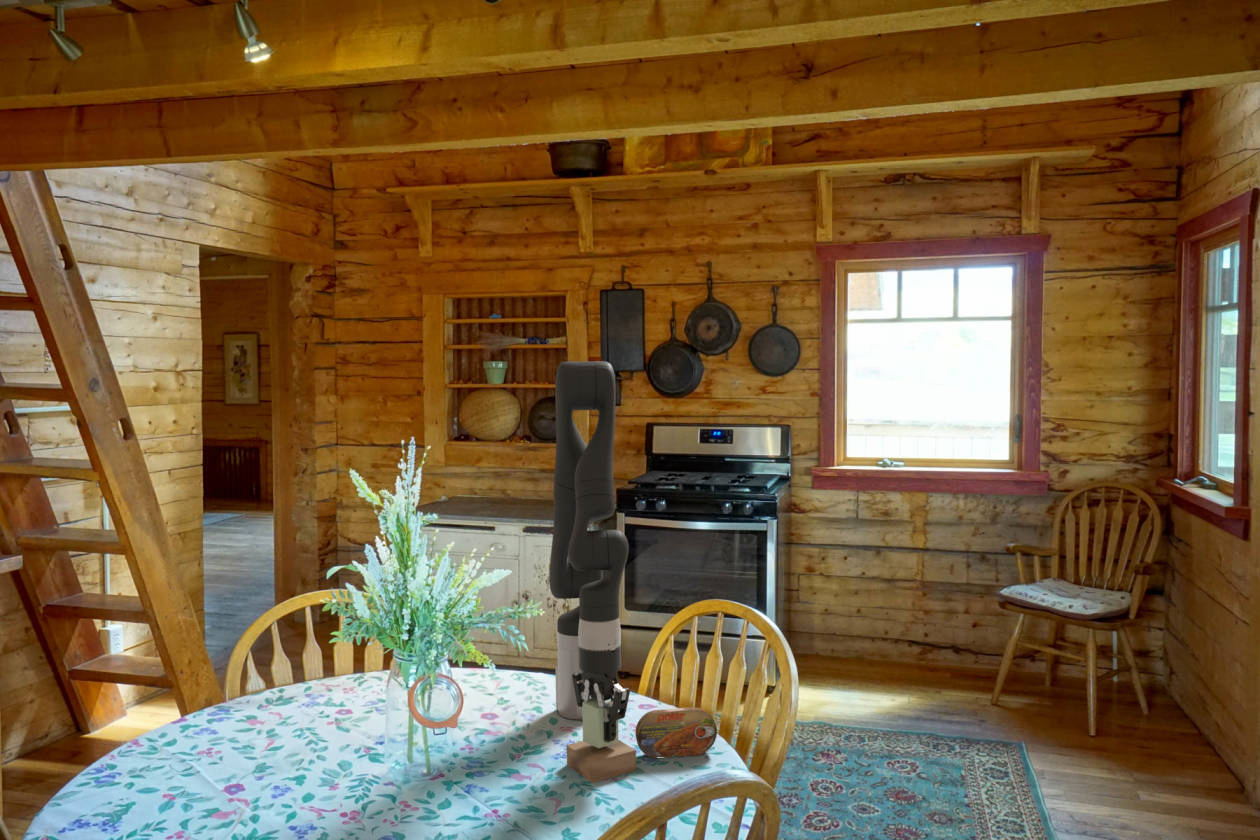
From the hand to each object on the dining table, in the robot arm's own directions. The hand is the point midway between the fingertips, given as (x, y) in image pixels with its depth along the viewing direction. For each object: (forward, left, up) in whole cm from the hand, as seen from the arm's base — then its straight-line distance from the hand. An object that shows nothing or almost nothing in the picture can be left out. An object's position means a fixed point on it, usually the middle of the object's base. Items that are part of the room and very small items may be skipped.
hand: (600, 736), depth 169 cm
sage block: (0, 0, -1) cm, 1 cm away
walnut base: (0, 0, -6) cm, 6 cm away
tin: (+5, +14, -6) cm, 16 cm away
